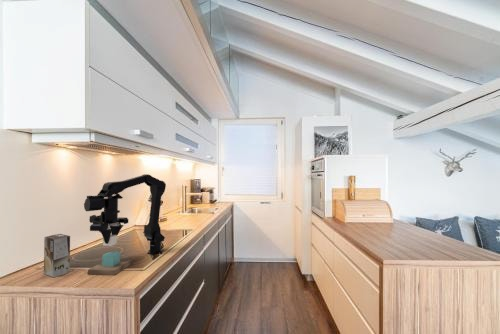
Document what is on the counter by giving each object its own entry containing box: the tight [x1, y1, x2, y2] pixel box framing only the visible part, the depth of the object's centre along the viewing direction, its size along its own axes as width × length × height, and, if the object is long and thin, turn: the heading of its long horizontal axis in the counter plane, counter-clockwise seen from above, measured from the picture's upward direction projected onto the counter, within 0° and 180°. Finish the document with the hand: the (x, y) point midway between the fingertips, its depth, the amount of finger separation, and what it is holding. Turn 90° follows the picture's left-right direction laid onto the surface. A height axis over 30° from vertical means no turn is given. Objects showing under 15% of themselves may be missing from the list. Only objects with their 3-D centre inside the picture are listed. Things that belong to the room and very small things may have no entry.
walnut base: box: [87, 258, 133, 276], centre depth 108 cm, size 13×12×2 cm
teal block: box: [101, 251, 121, 267], centre depth 108 cm, size 5×5×5 cm
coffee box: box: [43, 233, 71, 278], centre depth 104 cm, size 9×6×16 cm
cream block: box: [102, 234, 118, 247], centre depth 112 cm, size 4×4×4 cm
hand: (110, 242), depth 111 cm, fingers closed on cream block, 4 cm apart
